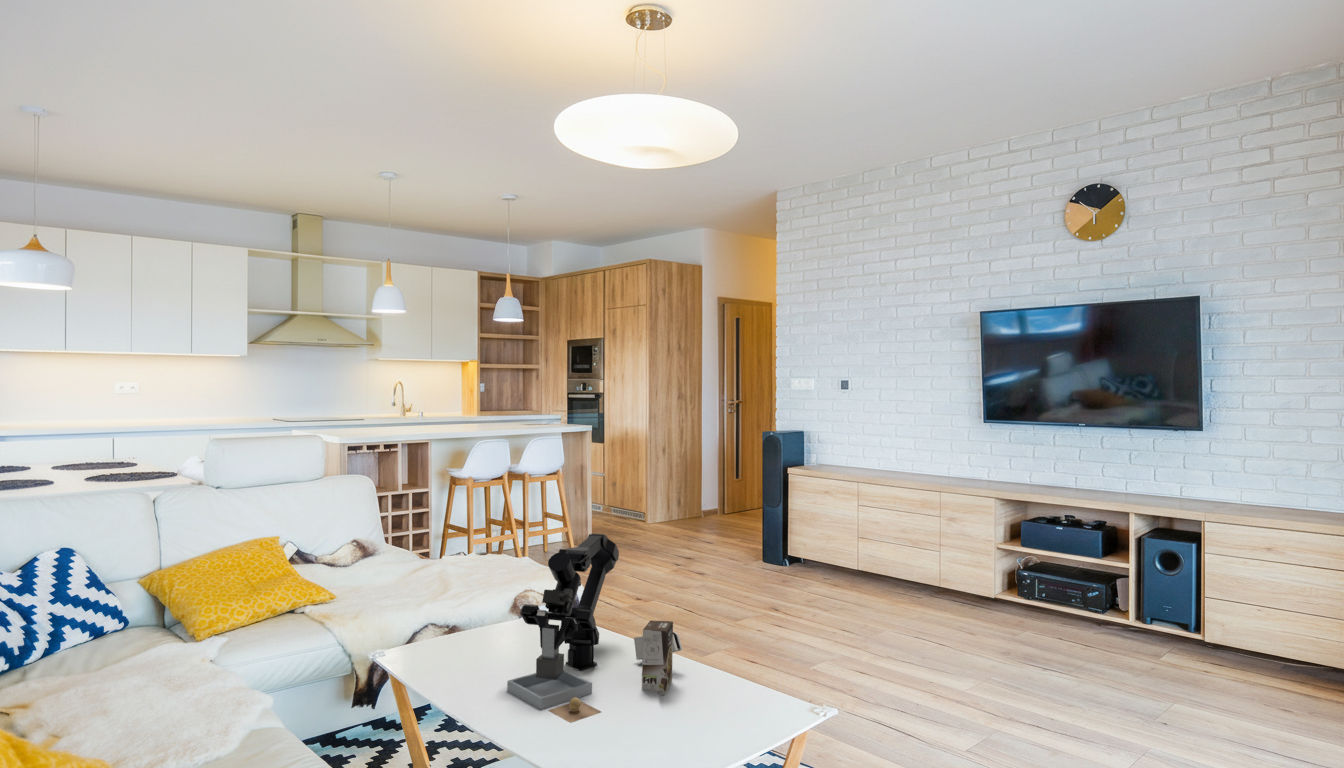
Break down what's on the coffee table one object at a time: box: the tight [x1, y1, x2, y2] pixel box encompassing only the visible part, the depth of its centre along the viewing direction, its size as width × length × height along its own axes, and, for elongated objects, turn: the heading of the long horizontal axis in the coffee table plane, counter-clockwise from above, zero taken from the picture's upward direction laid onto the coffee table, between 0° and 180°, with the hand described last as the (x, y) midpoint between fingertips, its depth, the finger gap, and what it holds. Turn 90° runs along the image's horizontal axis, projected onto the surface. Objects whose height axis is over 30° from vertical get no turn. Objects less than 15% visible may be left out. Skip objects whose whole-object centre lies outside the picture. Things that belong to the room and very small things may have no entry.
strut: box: [535, 623, 565, 680], centre depth 192 cm, size 5×5×12 cm
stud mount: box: [547, 697, 602, 724], centre depth 180 cm, size 9×9×4 cm
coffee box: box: [641, 620, 674, 696], centre depth 198 cm, size 9×6×16 cm
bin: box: [506, 669, 593, 710], centre depth 192 cm, size 15×15×4 cm
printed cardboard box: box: [633, 631, 684, 661], centre depth 212 cm, size 4×10×15 cm
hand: (548, 648), depth 191 cm, fingers closed on strut, 3 cm apart
